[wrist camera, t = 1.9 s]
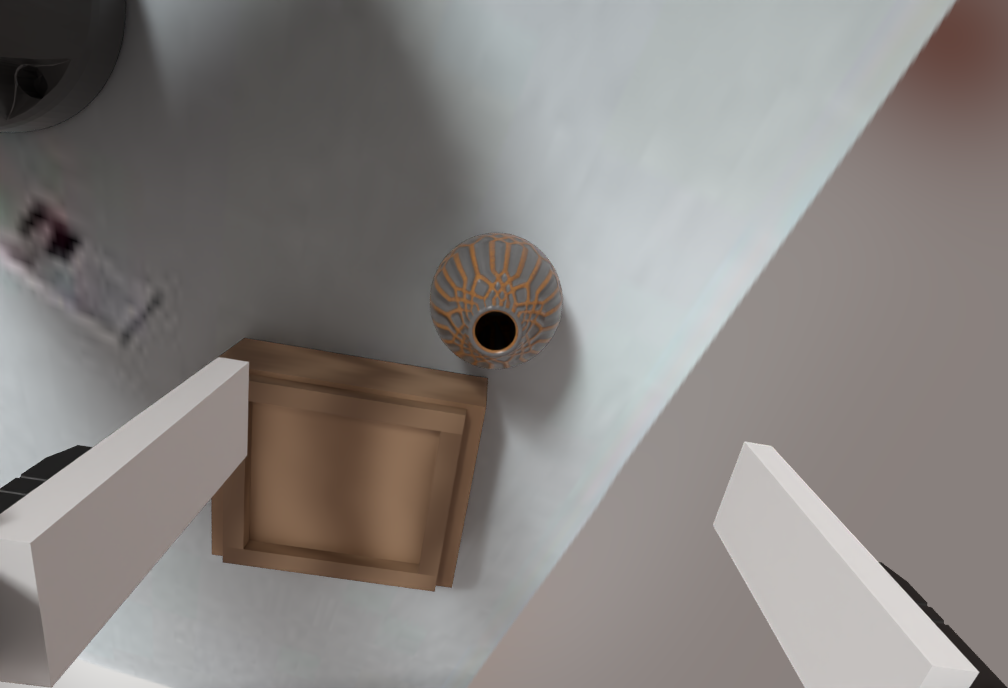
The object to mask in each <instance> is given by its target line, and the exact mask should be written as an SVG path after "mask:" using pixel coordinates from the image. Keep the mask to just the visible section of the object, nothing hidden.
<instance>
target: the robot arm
mask: <svg viewBox="0 0 1008 688" xmlns="http://www.w3.org/2000/svg"><path fill="white" fill-rule="evenodd" d="M125 10H126V7H125V0H0V132H29V131H35V130H40V129H44V128H48V127H51V126H53V125H56V124H59V123H61V122H63V121H65V120H67V119H69V118H70V117H72V116H74V115H75V114H77V113H78V112H79V111H81V110H82V109H83V108H85V107H86V106H87V105H88V104H89V103H90V102H91V101H92V100H93V99H94V98H95V97H96V95H97V94H98V93H99V92H100V90H101V89H102V88H103V86H104V85H105V83H106V81H107V80H108V78H109V76H110V74H111V72H112V70H113V68H114V66H115V63H116V60H117V58H118V55H119V51H120V48H121V43H122V39H123V33H124V25H125ZM248 390H249V362H246V361H240V360H234V359H227V358H221V357H218V358H216V359H215V360H213V361H212V362H211V363H209V364H208V365H206V366H205V367H204V368H202V369H201V370H200V371H198V372H197V373H195V374H194V375H193V376H191V377H190V378H188V379H187V380H186V381H184V382H183V383H181V384H180V385H179V386H177V387H176V388H175V389H173V390H172V391H170V392H169V393H168V394H166V395H165V396H163V397H162V398H161V399H159V400H158V401H157V402H155V403H154V404H152V405H151V406H150V407H148V408H147V409H145V410H144V411H143V412H141V413H140V414H138V415H137V416H136V417H134V418H133V419H132V420H130V421H129V422H127V423H126V424H125V425H123V426H122V427H120V428H119V429H118V430H116V431H115V432H113V433H112V434H111V435H109V436H108V437H107V438H105V439H104V440H102V441H101V442H100V443H98V444H97V445H95V446H94V447H87V446H80V445H77V446H75V447H72V448H70V449H67V450H65V451H62V452H60V453H57V454H54V455H52V456H49V457H47V458H45V459H44V460H42V461H41V462H39V463H38V464H36V465H35V466H33V467H32V468H30V469H29V470H27V471H26V472H24V473H23V474H21V477H20V478H15V479H14V480H12V481H11V482H9V483H8V484H6V485H5V486H3V487H2V488H0V681H1V682H9V683H18V684H26V685H34V686H43V687H53V685H54V684H55V683H56V682H57V681H58V680H59V678H60V677H61V676H62V675H63V674H64V672H65V671H66V670H67V669H68V668H69V666H70V665H71V664H72V663H73V662H74V661H75V659H76V658H77V657H78V656H79V655H80V653H81V652H82V651H83V650H84V649H85V647H86V646H87V645H88V644H89V643H90V642H91V640H92V639H93V638H94V637H95V636H96V634H97V633H98V632H99V631H100V630H101V628H102V627H103V626H104V625H105V624H106V623H107V621H108V620H109V619H110V618H111V617H112V615H113V614H114V613H115V612H116V611H117V609H118V608H119V607H120V606H121V605H122V603H123V602H124V601H125V600H126V599H127V598H128V596H129V595H130V594H131V593H132V592H133V590H134V589H135V588H136V587H137V586H138V584H139V583H140V582H141V581H142V580H143V579H144V577H145V576H146V575H147V574H148V573H149V571H150V570H151V569H152V568H153V567H154V565H155V564H156V563H157V562H158V561H159V560H160V558H161V557H162V556H163V555H164V554H165V552H166V551H167V550H168V549H169V548H170V546H171V545H172V544H173V543H174V542H175V541H176V539H177V538H178V537H179V536H180V535H181V533H182V532H183V531H184V530H185V529H186V527H187V526H188V525H189V524H190V523H191V522H192V520H193V519H194V518H195V517H196V516H197V514H198V513H199V512H200V511H201V510H202V508H203V507H204V506H205V505H206V504H207V502H208V501H209V500H210V499H211V498H212V497H213V495H214V494H215V493H216V492H217V491H218V489H219V488H220V487H221V486H222V485H223V483H224V482H225V481H226V480H227V479H228V478H229V476H230V475H231V474H232V473H233V472H234V470H235V469H236V468H237V467H238V466H239V464H240V463H241V462H242V461H243V460H244V459H245V457H246V456H247V443H248ZM713 526H714V528H715V530H716V532H717V533H718V535H719V537H720V539H721V540H722V542H723V544H724V546H725V547H726V549H727V551H728V553H729V554H730V556H731V558H732V560H733V561H734V563H735V565H736V567H737V569H738V570H739V572H740V574H741V576H742V577H743V579H744V581H745V583H746V584H747V586H748V588H749V590H750V591H751V593H752V595H753V597H754V599H755V600H756V602H757V604H758V606H759V607H760V609H761V611H762V613H763V614H764V616H765V618H766V620H767V622H768V623H769V625H770V627H771V629H772V630H773V632H774V634H775V636H776V637H777V639H778V641H779V643H780V644H781V646H782V648H783V650H784V652H785V653H786V655H787V657H788V659H789V660H790V662H791V664H792V666H793V668H794V669H795V671H796V673H797V675H798V676H799V678H800V680H801V681H802V683H803V685H804V687H805V688H1007V687H1006V686H1005V685H1004V684H1003V683H1002V682H1001V680H999V678H998V677H997V676H996V675H995V674H994V673H993V672H992V671H991V670H990V669H989V668H988V667H987V666H986V665H985V664H984V662H983V661H982V660H981V659H980V658H979V657H978V656H977V655H976V654H975V653H974V652H973V651H972V650H971V649H970V648H969V647H968V646H967V644H966V643H965V642H964V641H963V640H962V639H961V638H960V637H959V636H958V635H957V634H956V633H955V632H954V631H953V630H952V629H951V628H950V627H949V625H945V624H944V620H943V619H942V618H941V617H940V616H939V615H938V614H937V613H936V612H935V611H934V610H933V608H931V607H928V606H927V602H926V601H925V600H924V599H923V598H922V597H921V596H920V595H919V594H918V593H917V591H915V589H914V588H913V587H912V586H911V585H910V584H909V583H908V582H907V581H906V580H904V579H903V578H902V577H900V576H899V575H898V574H896V573H895V572H893V571H892V570H891V569H889V568H888V567H887V566H885V565H884V564H883V563H881V562H878V561H877V560H876V559H875V558H874V557H873V556H872V555H871V554H870V553H869V552H868V551H867V550H866V548H865V547H864V546H863V545H862V544H861V543H860V542H859V541H858V540H857V539H856V538H855V536H854V535H853V534H852V533H851V532H850V531H849V530H848V529H847V528H846V527H845V526H844V524H843V523H842V522H841V521H840V520H839V519H838V518H837V517H836V516H835V515H834V513H833V512H832V511H831V510H830V509H829V508H828V507H827V506H826V505H825V504H824V503H823V502H822V500H820V498H819V497H818V496H817V495H816V494H815V493H814V492H813V491H812V490H811V489H810V487H809V486H808V485H807V484H806V483H805V482H804V481H803V480H802V479H801V478H800V477H799V475H798V474H797V473H796V472H795V471H794V470H793V469H792V468H791V467H790V466H789V465H788V463H787V462H786V461H785V460H784V459H783V458H782V457H781V456H780V455H779V454H778V453H777V451H776V450H775V449H774V448H773V447H772V446H768V445H762V444H756V443H750V442H744V444H743V447H742V449H741V452H740V455H739V457H738V460H737V462H736V465H735V468H734V471H733V473H732V476H731V478H730V481H729V484H728V486H727V489H726V492H725V494H724V497H723V499H722V502H721V505H720V507H719V510H718V513H717V515H716V518H715V521H714V523H713Z"/></svg>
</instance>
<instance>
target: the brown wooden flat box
mask: <svg viewBox="0 0 1008 688" xmlns="http://www.w3.org/2000/svg"><path fill="white" fill-rule="evenodd" d="M219 357H221V358H227V359H234V360H240V361H246V362H249V390H248V443H247V456H246V457H245V459H244V460H243V461H242V462H241V463H240V464H239V466H238V467H237V468H236V469H235V470H234V472H233V473H232V474H231V475H230V476H229V478H228V479H227V480H226V481H225V482H224V483H223V485H222V486H221V487H220V488H219V489H218V491H217V492H216V493H215V494H214V495H213V497H212V554H213V555H220V556H223V562H224V563H231V564H239V565H246V566H253V567H260V568H268V569H275V570H282V571H289V572H297V573H304V574H311V575H318V576H326V577H333V578H340V579H347V580H355V581H362V582H369V583H376V584H384V585H391V586H398V587H405V588H413V589H420V590H427V591H434V592H435V586H444V587H451V588H452V584H453V578H454V573H455V568H456V563H457V557H458V552H459V547H460V542H461V536H462V531H463V526H464V521H465V515H466V510H467V505H468V500H469V494H470V489H471V484H472V479H473V473H474V468H475V463H476V458H477V452H478V447H479V442H480V437H481V431H482V426H483V421H484V416H485V410H486V401H487V384H488V378H484V377H478V376H471V375H465V374H459V373H453V372H447V371H441V370H435V369H429V368H423V367H417V366H411V365H405V364H399V363H393V362H387V361H381V360H375V359H369V358H363V357H357V356H351V355H345V354H339V353H333V352H327V351H321V350H315V349H309V348H302V347H296V346H290V345H284V344H278V343H272V342H266V341H260V340H254V339H248V338H244V339H242V340H241V341H240V342H238V343H237V344H236V345H234V346H233V347H231V348H230V349H229V350H227V351H226V352H225V353H223V354H222V355H220V356H219Z"/></svg>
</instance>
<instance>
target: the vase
mask: <svg viewBox="0 0 1008 688" xmlns="http://www.w3.org/2000/svg"><path fill="white" fill-rule="evenodd" d="M562 305H563V296H562V289H561V284H560V281H559V278H558V275H557V273H556V270H555V269H554V267H553V265H552V264H551V262H550V261H549V259H548V258H547V257H546V255H545V254H544V253H543V252H542V251H541V250H540V249H538V248H537V247H536V246H535V245H533V244H532V243H530V242H529V241H527V240H525V239H523V238H521V237H518V236H515V235H511V234H506V233H486V234H481V235H477V236H474V237H472V238H470V239H467V240H466V241H464V242H462V243H461V244H459V245H458V246H456V247H455V248H454V249H453V250H452V251H451V252H450V253H449V254H448V255H447V256H446V257H445V258H444V260H443V261H442V262H441V264H440V266H439V267H438V269H437V271H436V273H435V276H434V278H433V282H432V285H431V290H430V312H431V317H432V321H433V323H434V326H435V329H436V331H437V333H438V335H439V336H440V338H441V339H442V341H443V342H444V344H445V345H446V346H447V347H448V348H449V349H450V350H451V351H452V352H453V353H454V354H455V355H456V356H458V357H459V358H461V359H462V360H464V361H466V362H468V363H470V364H472V365H475V366H478V367H482V368H487V369H505V368H511V367H514V366H517V365H520V364H523V363H525V362H527V361H528V360H530V359H532V358H533V357H534V356H536V355H537V354H538V353H539V352H541V351H542V350H543V349H544V348H545V346H546V345H547V344H548V343H549V341H550V340H551V339H552V337H553V335H554V333H555V331H556V329H557V327H558V324H559V321H560V318H561V313H562Z"/></svg>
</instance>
